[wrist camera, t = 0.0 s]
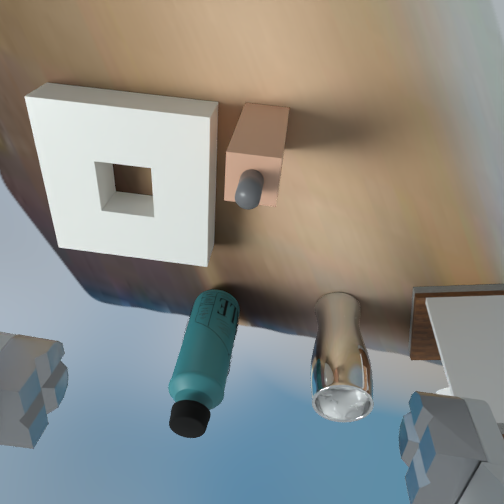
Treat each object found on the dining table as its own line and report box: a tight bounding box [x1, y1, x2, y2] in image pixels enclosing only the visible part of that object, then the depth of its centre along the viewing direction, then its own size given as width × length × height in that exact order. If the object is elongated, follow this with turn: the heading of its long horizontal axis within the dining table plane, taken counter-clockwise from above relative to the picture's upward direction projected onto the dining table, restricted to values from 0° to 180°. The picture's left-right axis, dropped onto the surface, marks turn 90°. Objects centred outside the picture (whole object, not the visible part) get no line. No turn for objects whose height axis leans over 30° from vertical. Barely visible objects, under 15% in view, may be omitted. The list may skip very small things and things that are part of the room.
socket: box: [25, 83, 218, 267], centre depth 50 cm, size 18×18×4 cm
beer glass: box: [310, 292, 374, 422], centre depth 55 cm, size 7×7×15 cm
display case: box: [409, 284, 504, 439], centre depth 45 cm, size 11×11×35 cm
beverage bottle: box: [168, 290, 240, 438], centre depth 54 cm, size 6×7×20 cm
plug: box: [224, 103, 290, 209], centre depth 41 cm, size 4×4×15 cm
